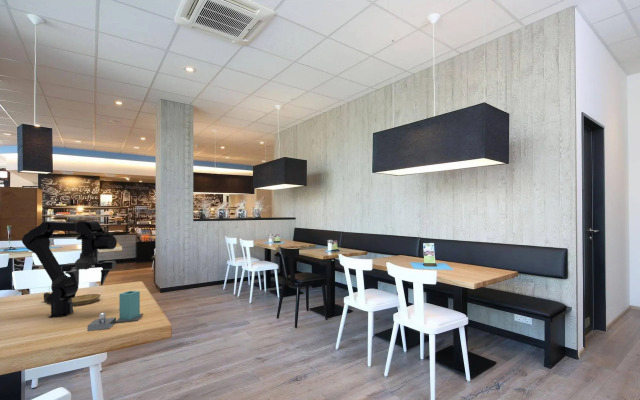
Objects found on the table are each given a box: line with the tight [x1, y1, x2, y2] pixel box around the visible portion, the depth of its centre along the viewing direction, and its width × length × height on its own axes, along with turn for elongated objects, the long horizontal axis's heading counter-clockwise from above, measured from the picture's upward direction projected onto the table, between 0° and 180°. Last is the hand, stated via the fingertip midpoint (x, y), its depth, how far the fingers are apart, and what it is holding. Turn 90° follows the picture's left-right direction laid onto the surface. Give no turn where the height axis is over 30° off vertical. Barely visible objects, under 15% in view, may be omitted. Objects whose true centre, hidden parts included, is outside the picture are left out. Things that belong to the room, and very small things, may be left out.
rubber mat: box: [115, 313, 144, 324], centre depth 129 cm, size 8×8×1 cm
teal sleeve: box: [118, 290, 141, 320], centre depth 129 cm, size 5×5×10 cm
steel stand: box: [87, 311, 117, 332], centre depth 121 cm, size 7×7×5 cm
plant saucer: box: [71, 293, 101, 307], centre depth 157 cm, size 15×15×3 cm
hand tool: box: [43, 292, 51, 305], centre depth 157 cm, size 19×4×5 cm, turn 53°
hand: (89, 286), depth 137 cm, fingers open, 9 cm apart
